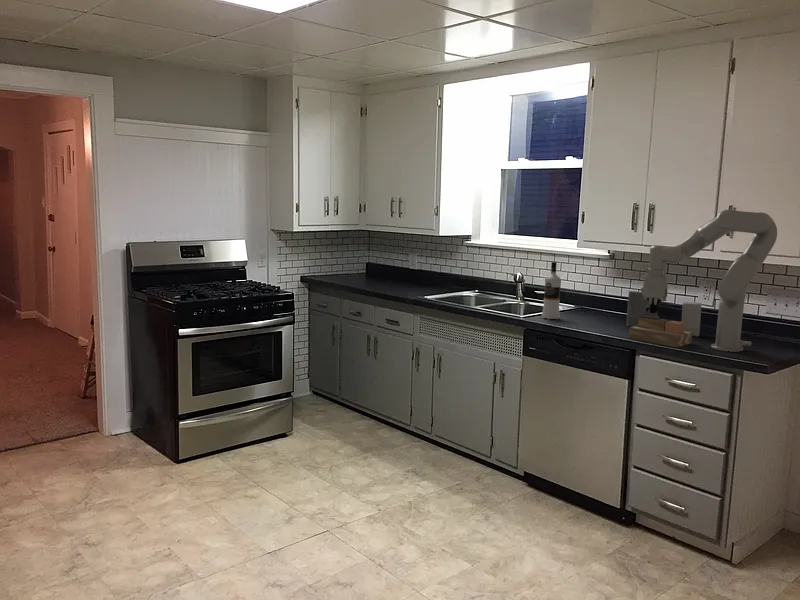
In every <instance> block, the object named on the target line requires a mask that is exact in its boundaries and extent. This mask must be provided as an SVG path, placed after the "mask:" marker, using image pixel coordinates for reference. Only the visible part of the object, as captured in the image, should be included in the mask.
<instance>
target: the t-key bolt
mask: <svg viewBox="0 0 800 600" xmlns="http://www.w3.org/2000/svg"><path fill="white" fill-rule="evenodd" d="M642 311H644V312H645V313H639V312H638V313H635V316H641V317H647V318H653V319H657V318H658V319H660V318H659V317H660V315H658V314H657V315H652V314H650V306H645V307H642Z"/></svg>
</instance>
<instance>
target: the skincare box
mask: <svg viewBox="0 0 800 600" xmlns="http://www.w3.org/2000/svg"><path fill="white" fill-rule="evenodd" d="M681 305H682V309H681V322H684V323H685V329H684V331H688V332H693V334H692V337H699V336H700V331H701V330H700V329H701V315H702V302H697V301H695V302H693V301H683V302H682V304H681Z"/></svg>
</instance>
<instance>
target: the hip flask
mask: <svg viewBox="0 0 800 600" xmlns="http://www.w3.org/2000/svg"><path fill="white" fill-rule="evenodd" d="M640 290H641V291H633V290H632V291H631V290H630V291H628V297H627V310H626V325H625V326H626V327H634V326H638V321H639V317H641V316H635V313H638V312H639V313H645V312H644V311H642V307H645V306H650V304H649V302H648V300H646V299H644V298H643V295H642V291H643V287H641V288H640ZM654 301H655V298H654ZM650 314H652V315H658V310H657V313H650Z"/></svg>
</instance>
